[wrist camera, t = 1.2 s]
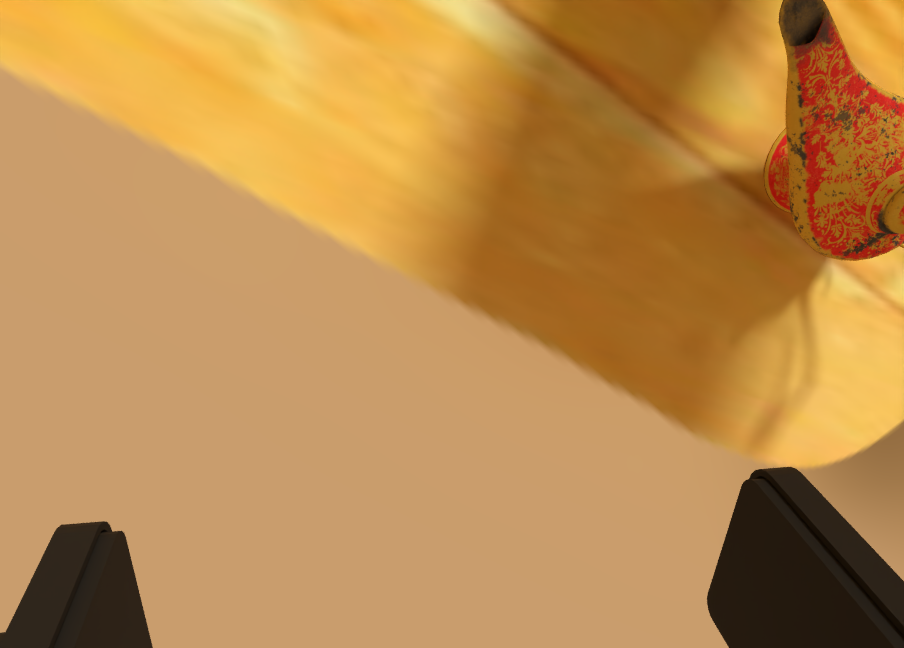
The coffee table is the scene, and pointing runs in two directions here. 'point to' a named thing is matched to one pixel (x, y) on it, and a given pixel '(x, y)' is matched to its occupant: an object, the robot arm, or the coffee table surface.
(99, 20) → the coffee table surface
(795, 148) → the magic lamp
